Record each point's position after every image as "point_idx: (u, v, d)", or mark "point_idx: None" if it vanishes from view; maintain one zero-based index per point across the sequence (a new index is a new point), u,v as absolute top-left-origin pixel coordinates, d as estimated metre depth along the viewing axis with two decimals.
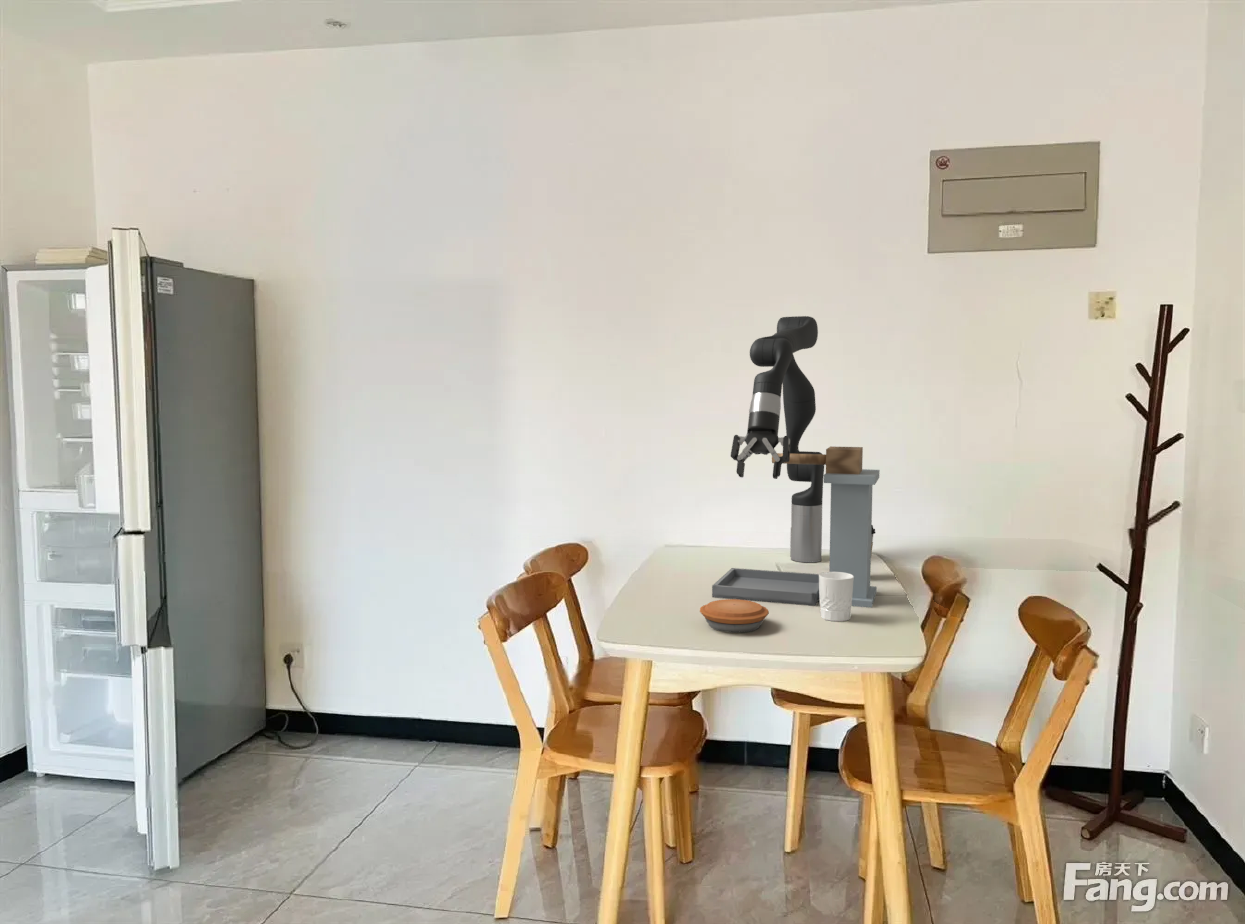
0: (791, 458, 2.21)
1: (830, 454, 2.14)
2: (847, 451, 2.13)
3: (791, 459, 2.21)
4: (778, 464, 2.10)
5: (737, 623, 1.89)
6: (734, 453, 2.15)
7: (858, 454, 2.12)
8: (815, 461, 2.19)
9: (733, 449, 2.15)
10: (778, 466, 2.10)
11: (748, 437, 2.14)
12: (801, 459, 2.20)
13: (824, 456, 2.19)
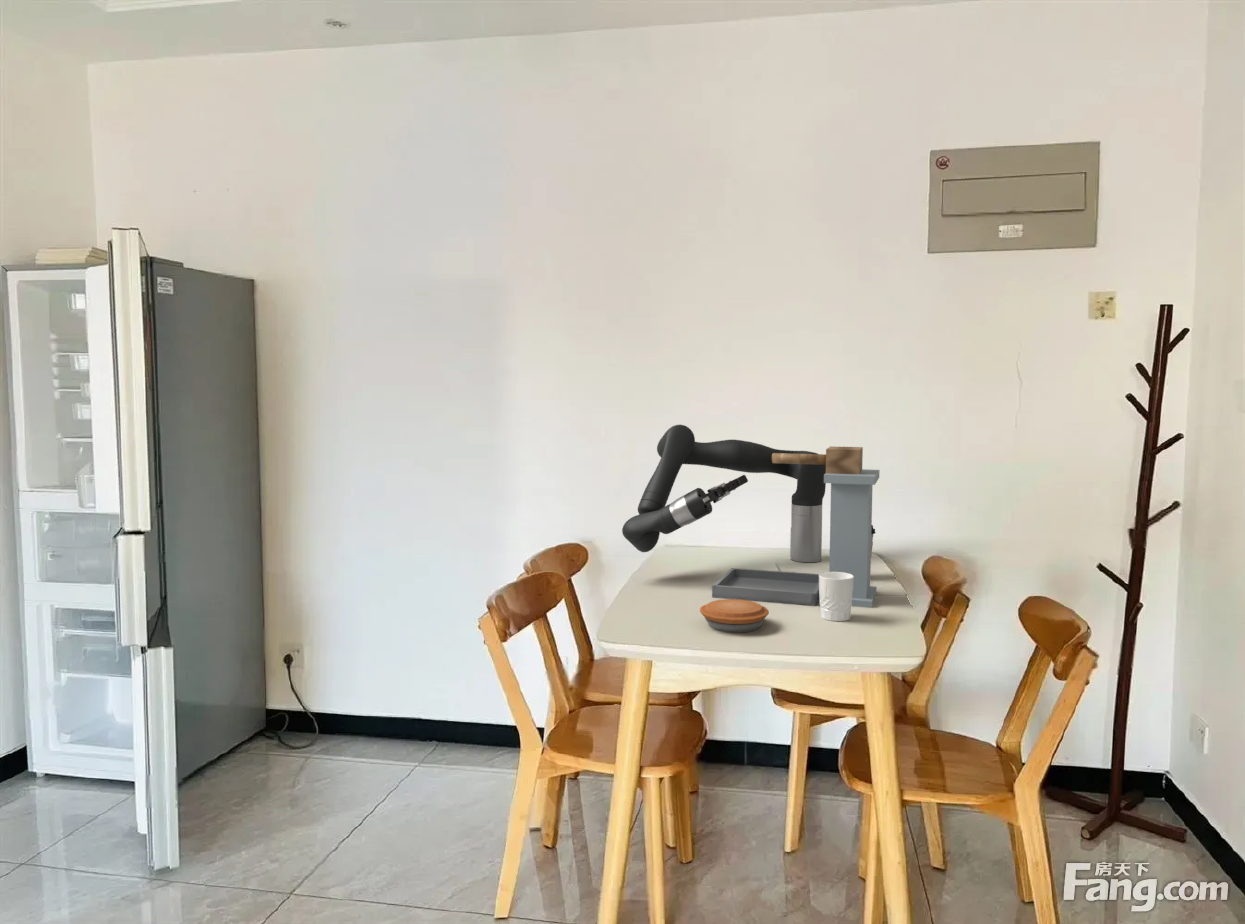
0: (791, 458, 2.21)
1: (830, 454, 2.14)
2: (847, 451, 2.13)
3: (791, 459, 2.21)
4: (729, 490, 2.24)
5: (737, 623, 1.89)
6: None
7: (858, 454, 2.12)
8: (815, 461, 2.19)
9: None
10: (730, 489, 2.23)
11: None
12: (801, 459, 2.20)
13: (824, 456, 2.19)
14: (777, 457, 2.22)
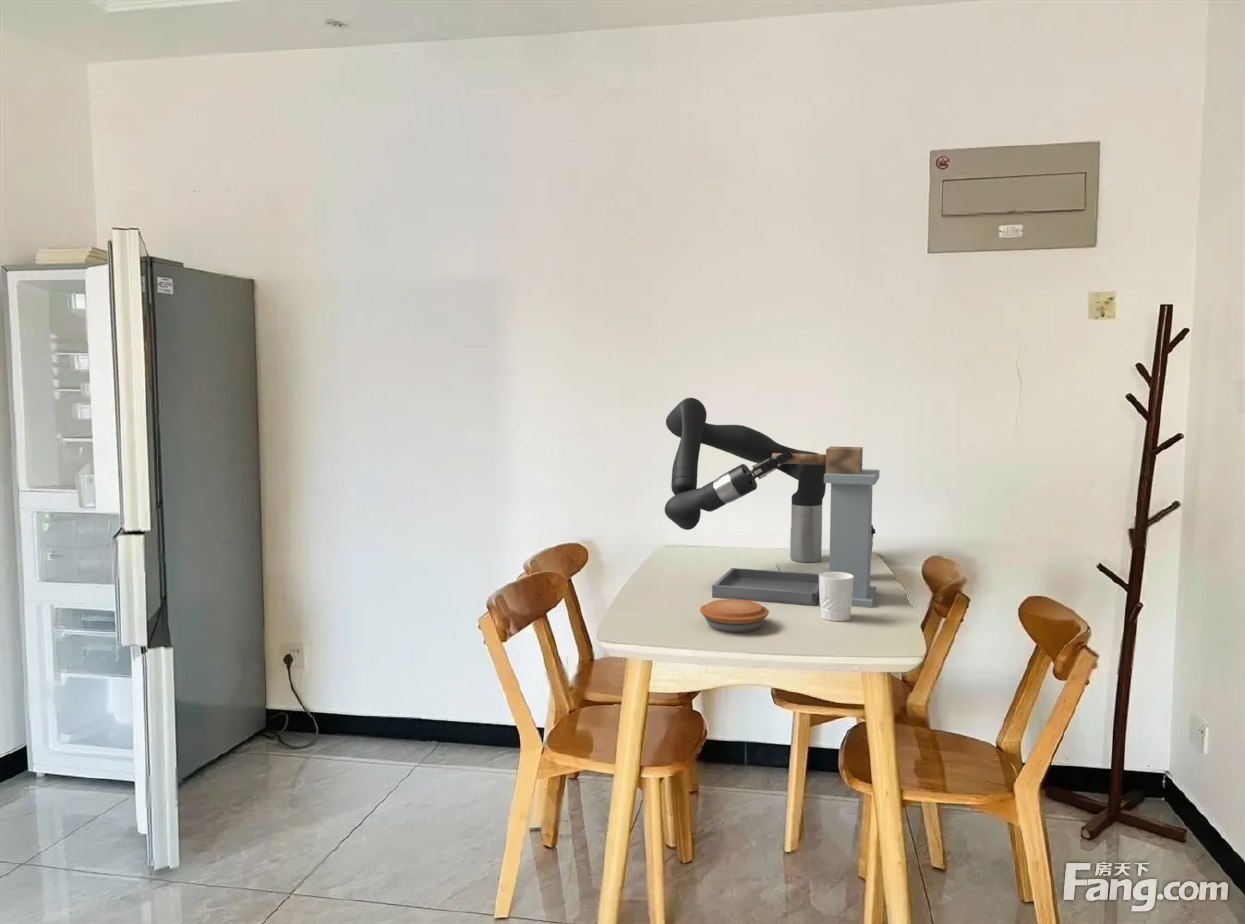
0: (791, 458, 2.21)
1: (830, 454, 2.14)
2: (847, 451, 2.13)
3: (791, 459, 2.21)
4: (781, 462, 2.21)
5: (737, 623, 1.89)
6: None
7: (858, 454, 2.12)
8: (815, 461, 2.19)
9: None
10: (783, 461, 2.21)
11: None
12: (801, 459, 2.20)
13: (824, 456, 2.19)
14: None
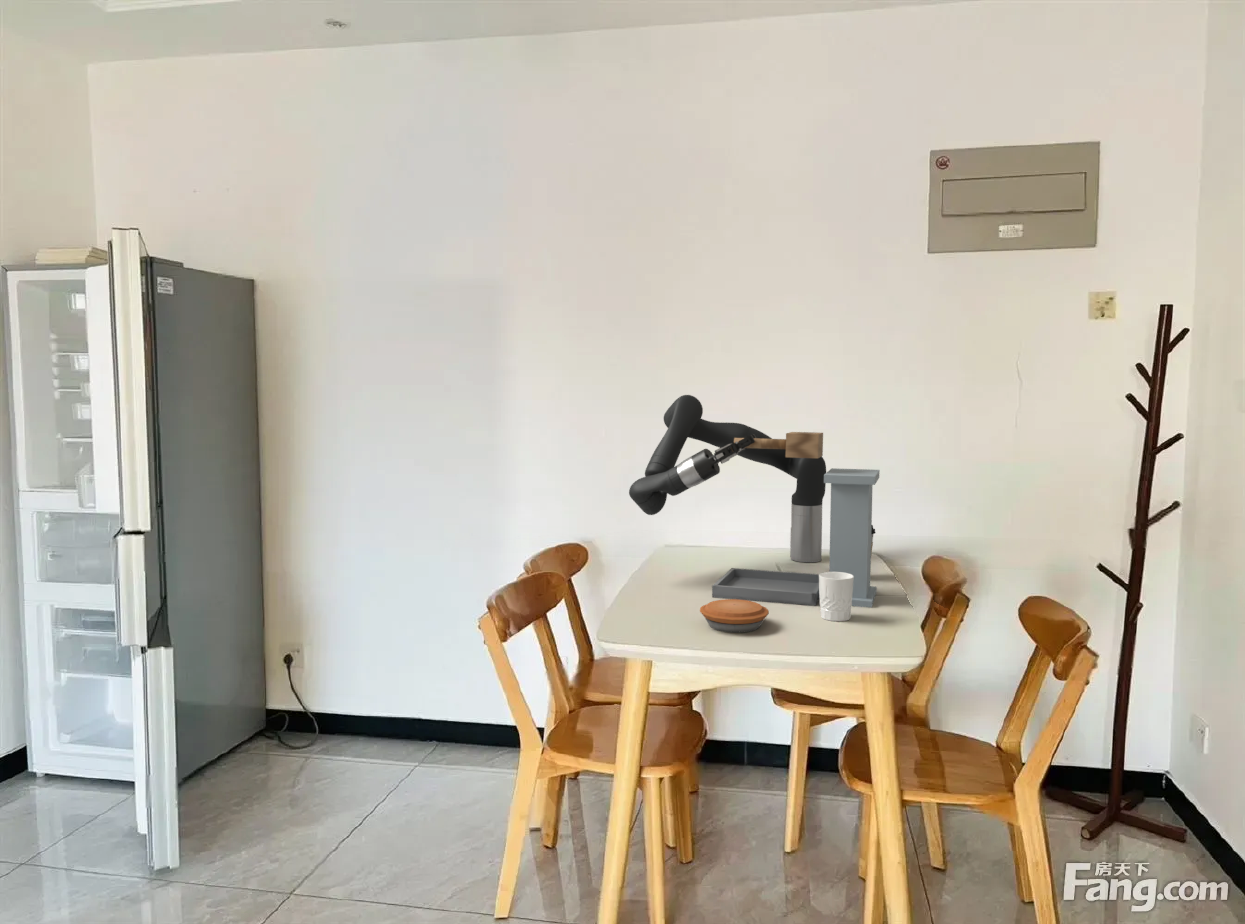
0: None
1: (790, 438, 2.17)
2: (806, 436, 2.16)
3: (753, 444, 2.24)
4: (743, 446, 2.24)
5: (737, 623, 1.89)
6: (741, 450, 2.30)
7: (817, 438, 2.15)
8: (776, 445, 2.22)
9: None
10: (744, 445, 2.24)
11: None
12: (762, 443, 2.23)
13: (785, 441, 2.22)
14: None
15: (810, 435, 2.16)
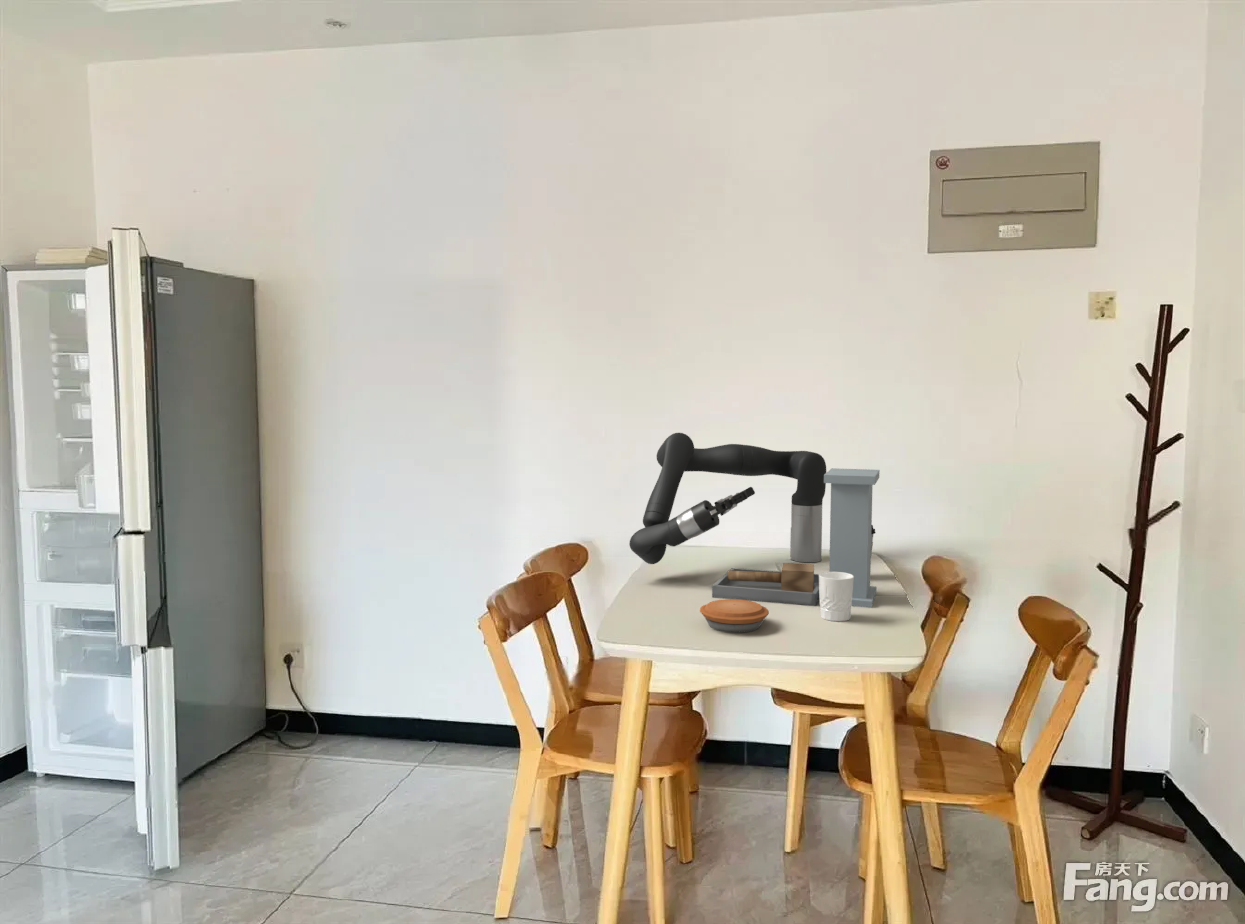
0: (747, 576, 2.27)
1: (785, 575, 2.21)
2: (801, 573, 2.20)
3: (747, 577, 2.27)
4: (736, 502, 2.23)
5: (737, 623, 1.89)
6: None
7: (812, 576, 2.20)
8: (770, 579, 2.26)
9: None
10: (738, 501, 2.23)
11: None
12: (756, 577, 2.26)
13: (778, 575, 2.25)
14: (733, 575, 2.28)
15: (805, 572, 2.20)
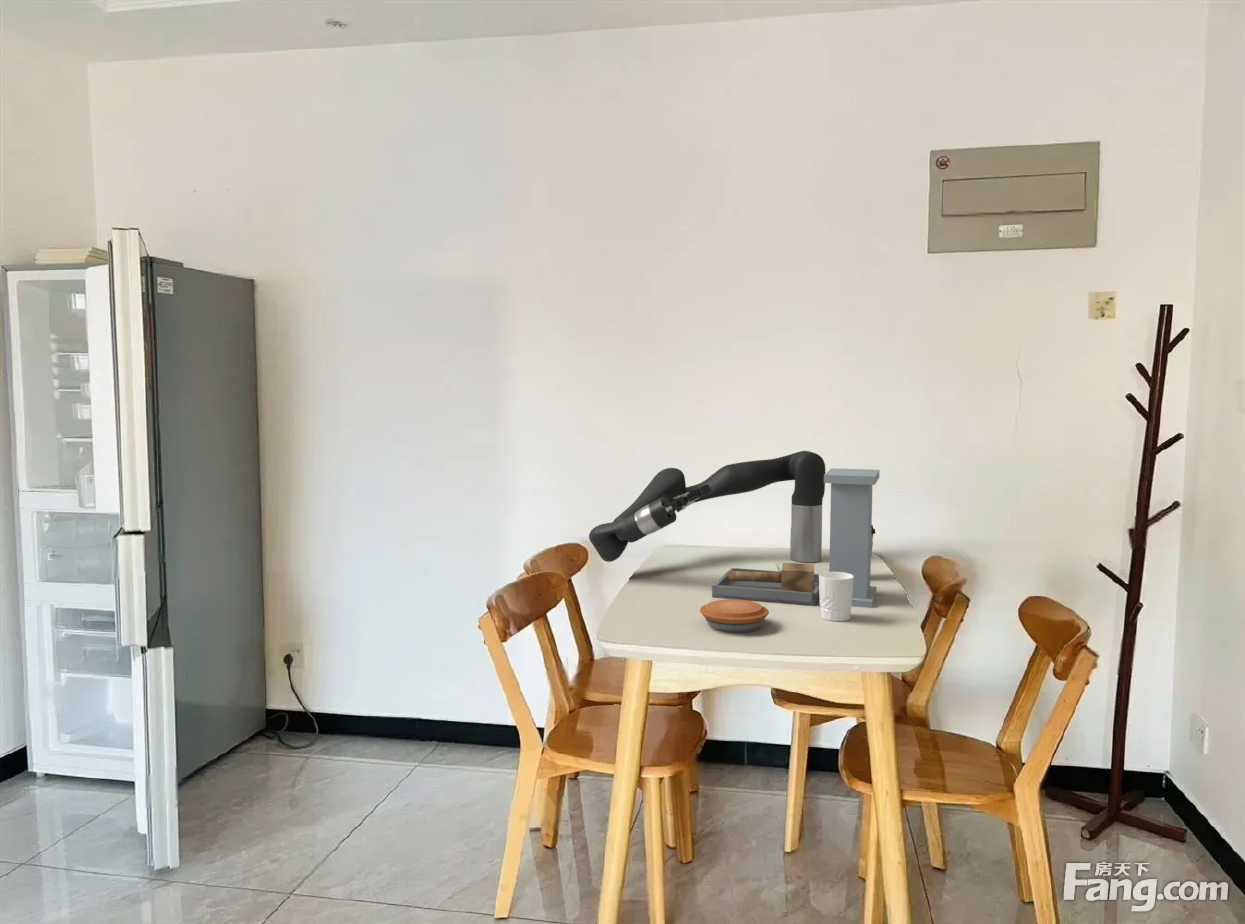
0: (747, 576, 2.27)
1: (785, 575, 2.21)
2: (801, 573, 2.20)
3: (747, 577, 2.27)
4: (691, 499, 2.27)
5: (737, 623, 1.89)
6: (696, 499, 2.38)
7: (812, 576, 2.20)
8: (770, 579, 2.26)
9: None
10: (693, 498, 2.27)
11: None
12: (756, 577, 2.26)
13: (778, 575, 2.25)
14: (733, 575, 2.28)
15: (805, 572, 2.20)
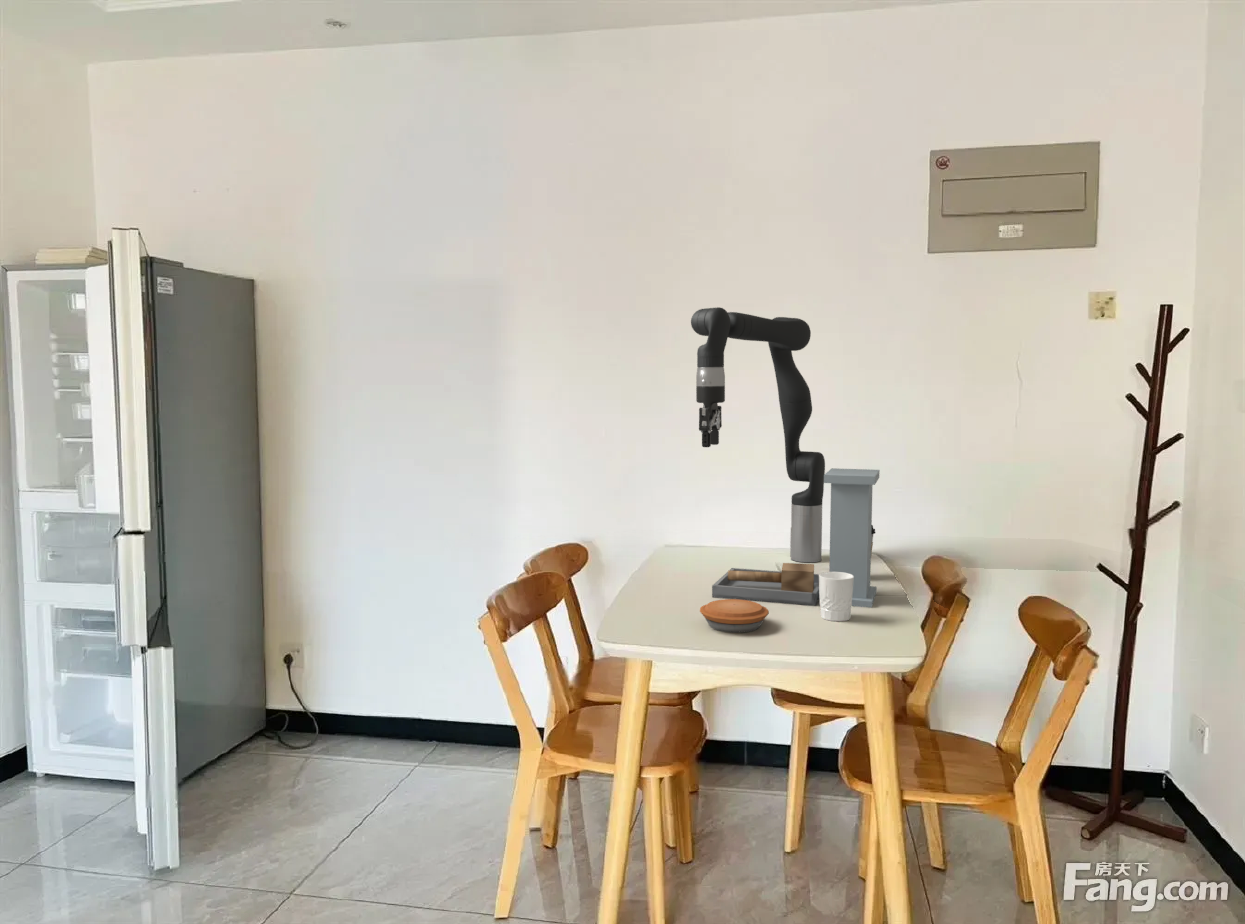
0: (747, 576, 2.27)
1: (785, 575, 2.21)
2: (801, 573, 2.20)
3: (747, 577, 2.27)
4: None
5: (737, 623, 1.89)
6: None
7: (812, 576, 2.20)
8: (770, 579, 2.26)
9: None
10: None
11: None
12: (756, 577, 2.26)
13: (778, 575, 2.25)
14: (733, 575, 2.28)
15: (805, 572, 2.20)
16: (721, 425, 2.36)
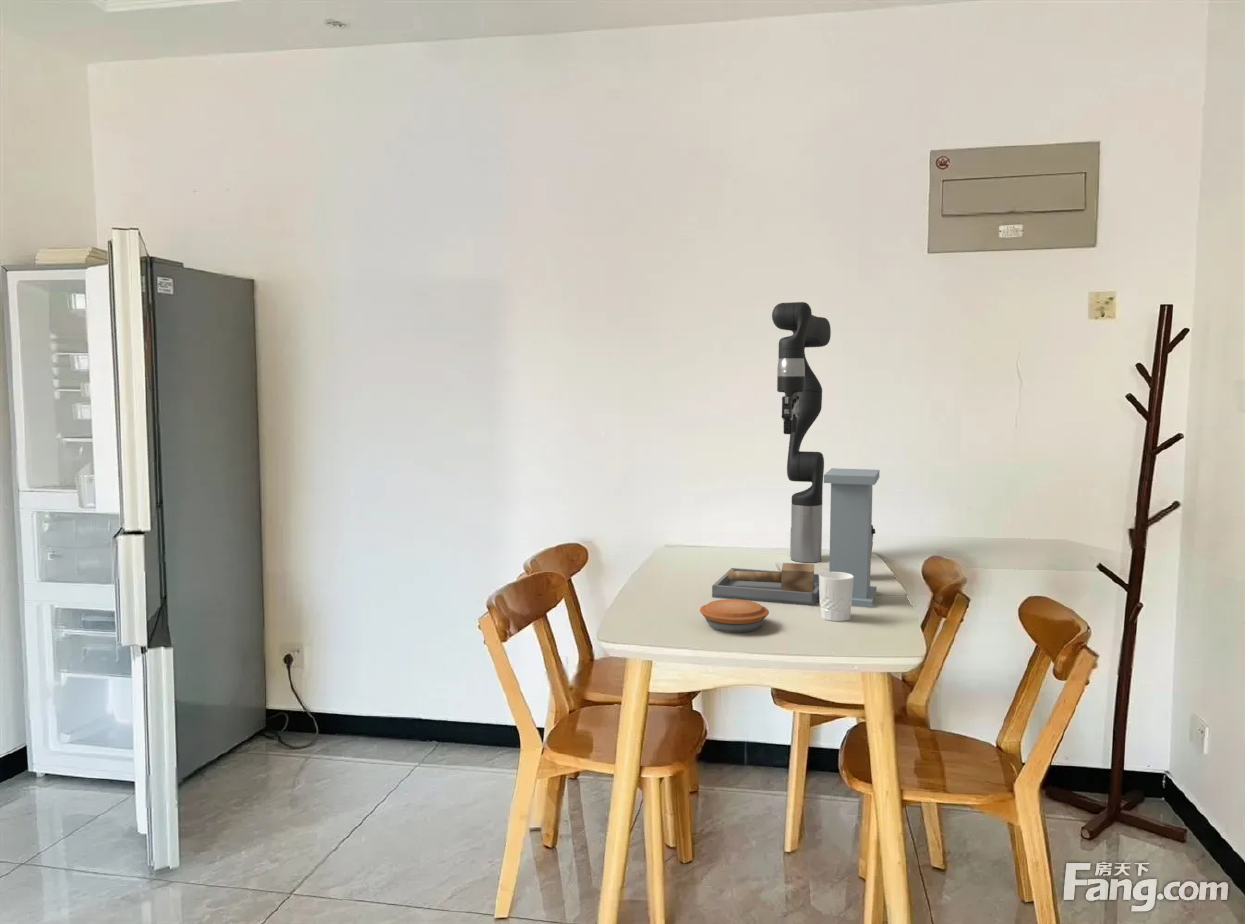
0: (747, 576, 2.27)
1: (785, 575, 2.21)
2: (801, 573, 2.20)
3: (747, 577, 2.27)
4: (784, 422, 2.39)
5: (737, 623, 1.89)
6: None
7: (812, 576, 2.20)
8: (770, 579, 2.26)
9: None
10: None
11: None
12: (756, 577, 2.26)
13: (778, 575, 2.25)
14: (733, 575, 2.28)
15: (805, 572, 2.20)
16: (798, 414, 2.49)
